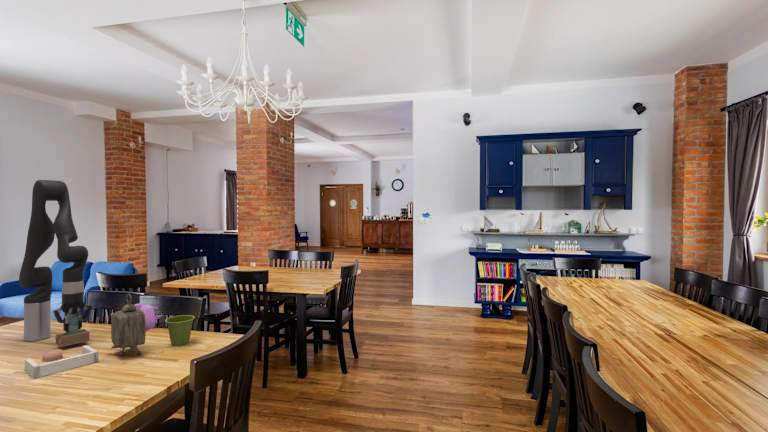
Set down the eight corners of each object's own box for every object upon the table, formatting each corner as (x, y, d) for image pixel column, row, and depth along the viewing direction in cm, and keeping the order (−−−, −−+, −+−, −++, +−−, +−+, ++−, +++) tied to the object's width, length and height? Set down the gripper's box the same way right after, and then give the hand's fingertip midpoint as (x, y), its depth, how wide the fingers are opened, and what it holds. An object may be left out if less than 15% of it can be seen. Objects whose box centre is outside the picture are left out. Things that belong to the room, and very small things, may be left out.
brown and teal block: (55, 343, 166) (55, 318, 166) (83, 337, 174) (83, 313, 174) (61, 347, 162) (61, 321, 162) (89, 340, 170) (89, 316, 170)
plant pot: (158, 345, 168) (158, 320, 168) (182, 337, 179) (182, 314, 179) (178, 349, 164) (178, 323, 164) (200, 341, 175) (200, 316, 175)
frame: (24, 370, 142) (24, 359, 142) (86, 354, 157) (86, 345, 157) (34, 378, 134) (34, 367, 134) (98, 361, 150) (98, 351, 150)
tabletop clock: (145, 355, 157) (145, 294, 157) (119, 361, 151) (119, 298, 151) (135, 346, 167) (135, 289, 167) (110, 352, 161) (110, 292, 160)
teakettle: (164, 323, 203) (164, 300, 203) (143, 333, 186) (143, 308, 186) (132, 323, 204) (132, 300, 204) (108, 333, 187) (108, 307, 187)
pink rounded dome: (40, 360, 152) (40, 352, 152) (59, 355, 157) (59, 348, 157) (45, 363, 149) (45, 355, 149) (64, 358, 154) (64, 351, 154)
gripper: (89, 287, 176) (88, 325, 176) (49, 293, 164) (49, 332, 164) (95, 289, 172) (95, 328, 172) (55, 295, 160) (55, 336, 160)
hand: (72, 330), depth 168 cm, fingers closed on brown and teal block, 3 cm apart
